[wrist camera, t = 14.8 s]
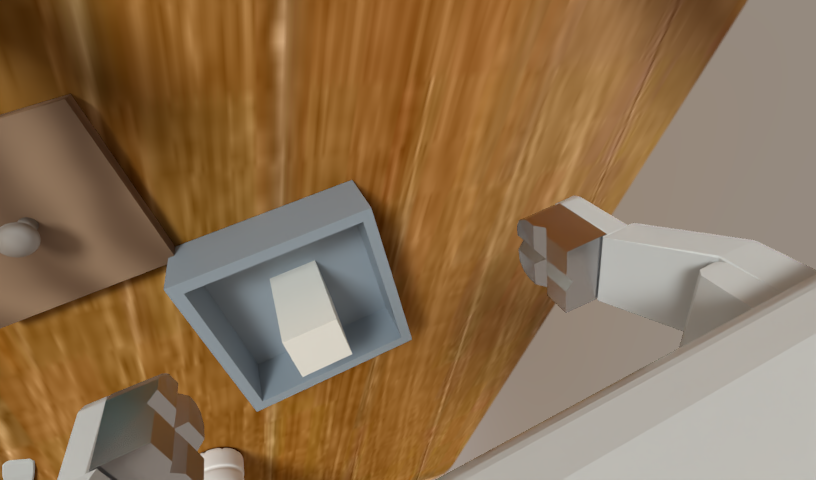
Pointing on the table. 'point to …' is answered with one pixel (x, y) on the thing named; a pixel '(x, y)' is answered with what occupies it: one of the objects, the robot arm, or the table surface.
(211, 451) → the water bottle
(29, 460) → the fork
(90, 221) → the walnut base
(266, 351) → the slate bin
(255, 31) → the table surface
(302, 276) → the ivory rectangular pillar
